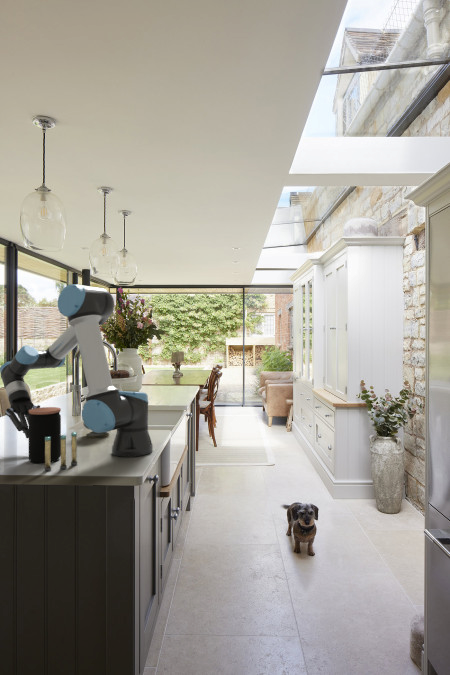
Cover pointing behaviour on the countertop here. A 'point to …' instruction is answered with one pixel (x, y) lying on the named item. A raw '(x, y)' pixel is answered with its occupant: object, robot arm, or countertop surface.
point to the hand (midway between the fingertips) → (34, 443)
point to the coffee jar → (44, 433)
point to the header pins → (63, 452)
